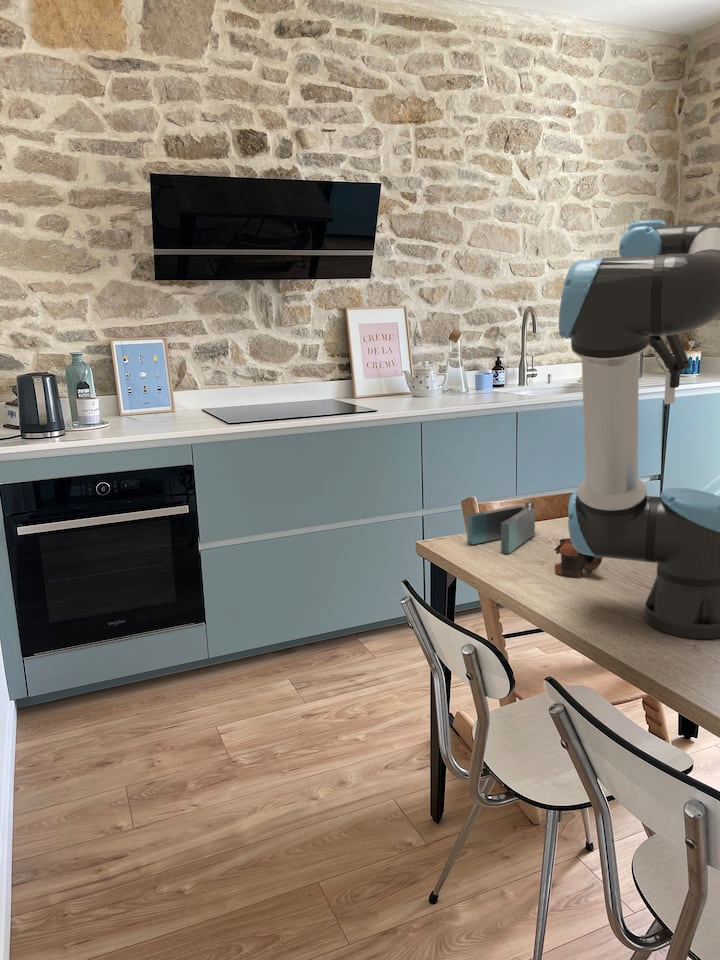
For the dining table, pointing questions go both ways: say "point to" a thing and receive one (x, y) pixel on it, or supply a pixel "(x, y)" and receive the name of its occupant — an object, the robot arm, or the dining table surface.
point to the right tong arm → (517, 530)
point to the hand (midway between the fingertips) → (639, 401)
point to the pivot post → (529, 504)
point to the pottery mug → (574, 560)
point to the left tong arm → (489, 524)
